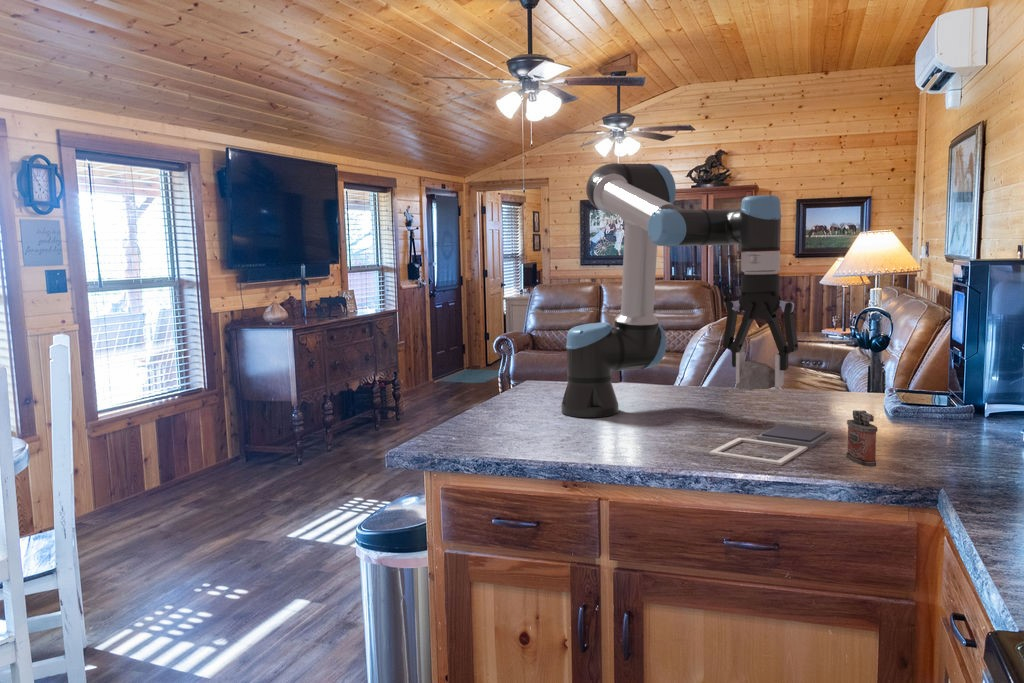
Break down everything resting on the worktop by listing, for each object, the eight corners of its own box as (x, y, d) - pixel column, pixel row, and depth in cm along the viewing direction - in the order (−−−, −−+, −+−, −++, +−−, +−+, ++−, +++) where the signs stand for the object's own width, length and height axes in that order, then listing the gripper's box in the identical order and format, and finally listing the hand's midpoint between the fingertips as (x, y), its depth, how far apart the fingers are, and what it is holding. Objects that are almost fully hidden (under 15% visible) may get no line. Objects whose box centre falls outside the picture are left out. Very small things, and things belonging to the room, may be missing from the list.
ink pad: (756, 440, 168) (756, 434, 168) (776, 430, 177) (777, 424, 177) (812, 448, 161) (812, 441, 160) (830, 436, 170) (830, 430, 170)
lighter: (842, 456, 154) (843, 407, 153) (858, 455, 154) (859, 406, 153) (863, 467, 146) (865, 415, 145) (880, 466, 146) (882, 414, 145)
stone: (766, 393, 151) (766, 364, 150) (728, 389, 156) (728, 361, 156) (787, 386, 158) (787, 358, 157) (751, 383, 163) (751, 356, 163)
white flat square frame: (709, 454, 158) (708, 451, 158) (738, 439, 169) (738, 437, 169) (781, 465, 148) (781, 462, 148) (807, 449, 160) (807, 446, 160)
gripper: (705, 274, 158) (705, 382, 161) (805, 273, 145) (803, 391, 148) (720, 272, 164) (720, 378, 167) (818, 272, 151) (816, 386, 154)
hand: (759, 384), depth 157 cm, fingers closed on stone, 7 cm apart
